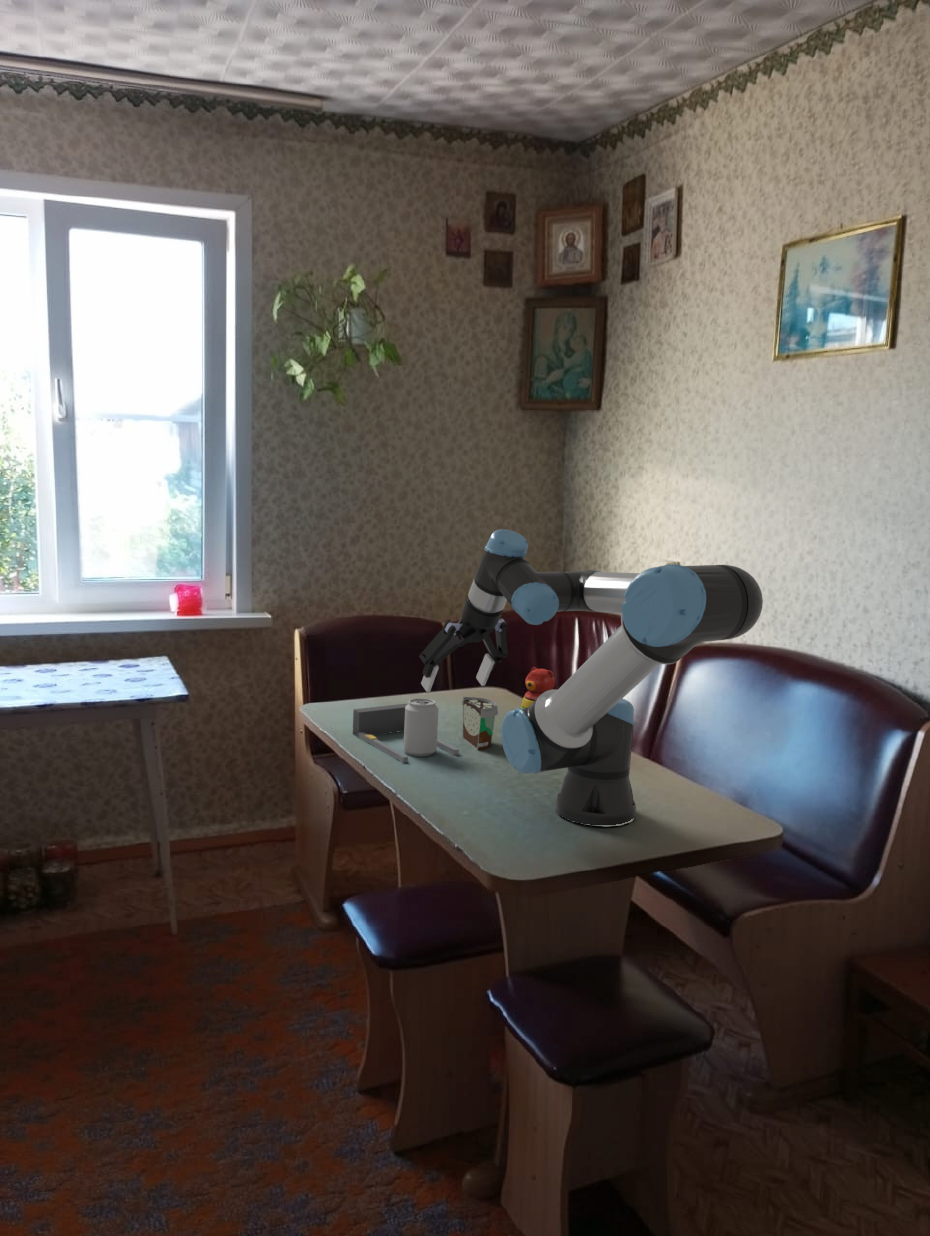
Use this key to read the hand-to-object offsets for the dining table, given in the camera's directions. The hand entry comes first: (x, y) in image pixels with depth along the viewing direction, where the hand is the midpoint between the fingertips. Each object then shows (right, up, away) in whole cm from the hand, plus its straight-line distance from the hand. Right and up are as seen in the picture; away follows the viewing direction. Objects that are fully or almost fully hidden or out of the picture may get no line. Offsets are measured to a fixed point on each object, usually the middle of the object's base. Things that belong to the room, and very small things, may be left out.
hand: (453, 684), depth 199 cm
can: (-8, -17, +17) cm, 25 cm away
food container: (+6, -16, +26) cm, 31 cm away
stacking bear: (+19, -16, +30) cm, 39 cm away
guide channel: (-12, -15, +22) cm, 30 cm away
